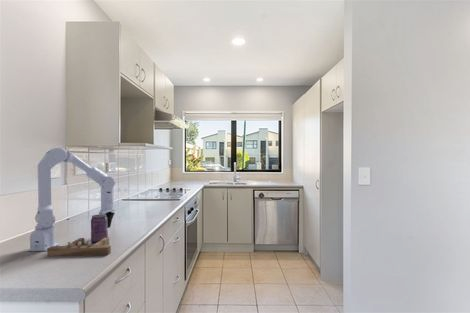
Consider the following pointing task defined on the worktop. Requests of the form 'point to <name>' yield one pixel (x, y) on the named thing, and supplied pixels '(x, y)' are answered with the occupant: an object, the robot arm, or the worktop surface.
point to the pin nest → (81, 248)
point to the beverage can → (99, 228)
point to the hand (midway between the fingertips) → (107, 227)
